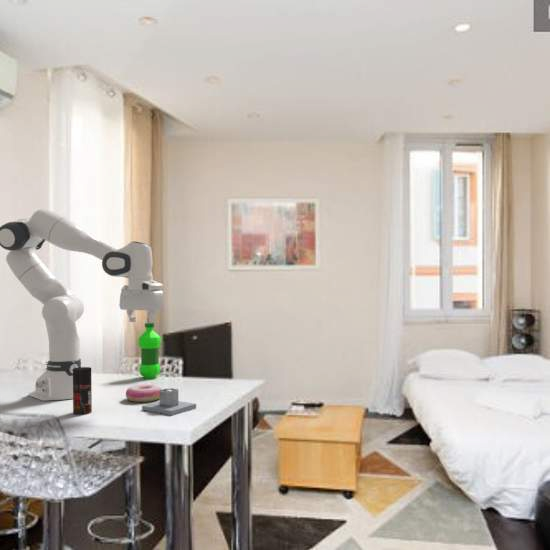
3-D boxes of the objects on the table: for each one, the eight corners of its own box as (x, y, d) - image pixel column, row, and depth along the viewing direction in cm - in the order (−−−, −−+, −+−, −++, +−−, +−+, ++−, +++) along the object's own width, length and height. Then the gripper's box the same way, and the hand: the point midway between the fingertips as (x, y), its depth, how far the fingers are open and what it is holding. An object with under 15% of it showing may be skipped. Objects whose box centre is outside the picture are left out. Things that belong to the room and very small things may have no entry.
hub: (155, 405, 189) (155, 391, 189) (168, 401, 194) (168, 387, 195) (169, 407, 186) (168, 393, 186) (182, 404, 191) (182, 389, 191)
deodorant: (75, 410, 189) (75, 367, 189) (93, 410, 190) (93, 366, 190) (71, 415, 183) (70, 370, 183) (89, 414, 184) (88, 369, 184)
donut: (143, 405, 197) (143, 391, 197) (117, 401, 204) (117, 388, 204) (169, 398, 208) (169, 385, 208) (144, 394, 215) (144, 382, 215)
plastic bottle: (159, 379, 246) (158, 323, 247) (135, 379, 247) (135, 324, 247) (163, 375, 256) (163, 322, 257) (141, 375, 257) (140, 322, 257)
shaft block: (142, 410, 189) (141, 391, 189) (167, 403, 199) (166, 385, 199) (171, 415, 181) (171, 395, 181) (196, 408, 191) (195, 389, 191)
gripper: (115, 285, 207) (115, 322, 207) (153, 285, 195) (154, 324, 195) (128, 285, 212) (128, 320, 212) (166, 285, 201) (166, 322, 201)
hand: (141, 322), depth 203 cm, fingers open, 8 cm apart
